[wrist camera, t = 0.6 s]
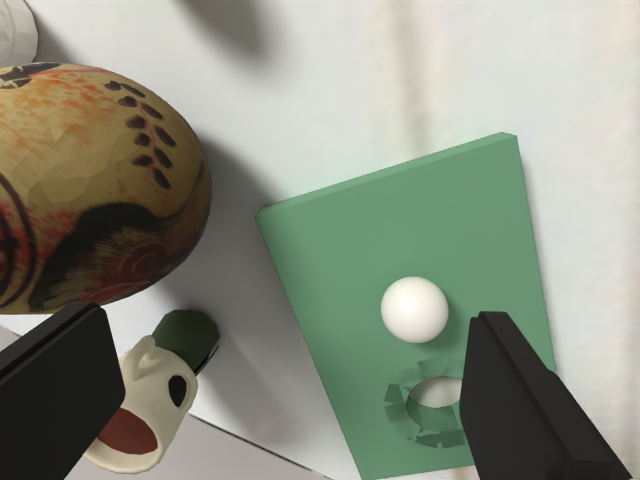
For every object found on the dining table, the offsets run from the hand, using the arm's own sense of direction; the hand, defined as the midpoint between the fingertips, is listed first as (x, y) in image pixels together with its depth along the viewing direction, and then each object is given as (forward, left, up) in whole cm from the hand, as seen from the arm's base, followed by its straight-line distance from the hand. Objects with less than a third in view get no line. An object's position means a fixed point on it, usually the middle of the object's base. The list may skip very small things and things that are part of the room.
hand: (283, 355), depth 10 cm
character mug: (+19, +10, -24) cm, 32 cm away
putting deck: (-3, +15, -23) cm, 28 cm away
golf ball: (-3, +10, -18) cm, 21 cm away
